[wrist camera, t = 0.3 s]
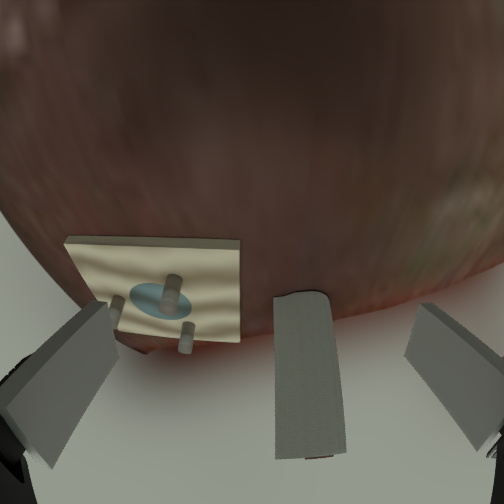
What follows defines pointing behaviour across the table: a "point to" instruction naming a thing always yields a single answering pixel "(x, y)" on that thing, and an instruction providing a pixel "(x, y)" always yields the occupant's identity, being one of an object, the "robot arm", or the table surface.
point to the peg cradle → (164, 284)
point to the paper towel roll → (306, 379)
